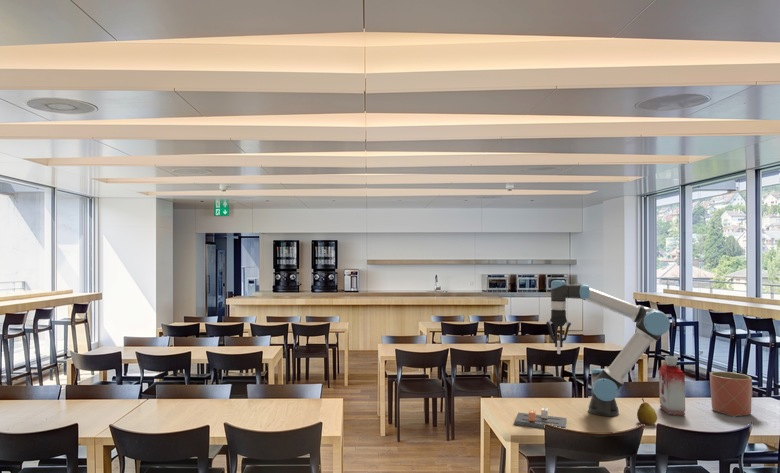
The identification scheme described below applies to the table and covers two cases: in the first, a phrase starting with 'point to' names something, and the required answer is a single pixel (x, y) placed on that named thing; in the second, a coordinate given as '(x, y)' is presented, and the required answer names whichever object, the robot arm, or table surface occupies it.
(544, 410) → the fader grey
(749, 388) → the planter
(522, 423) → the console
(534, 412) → the fader orange
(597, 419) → the table surface
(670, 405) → the bottle
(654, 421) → the fruit
